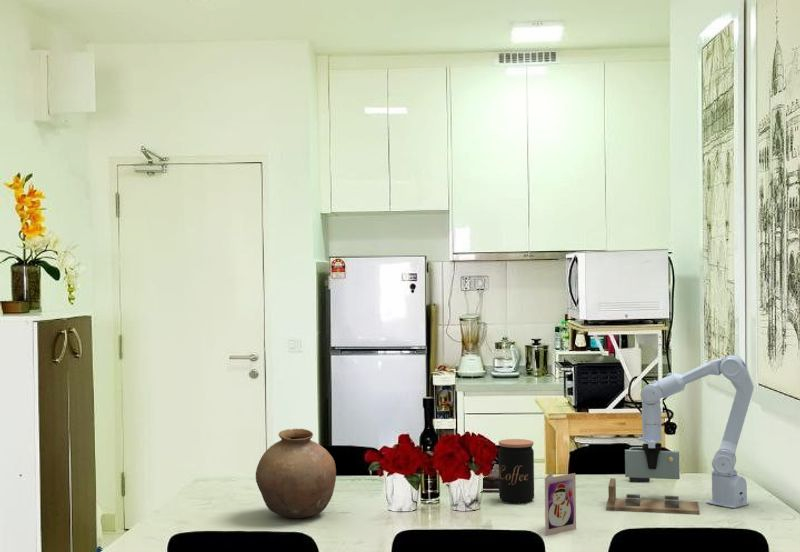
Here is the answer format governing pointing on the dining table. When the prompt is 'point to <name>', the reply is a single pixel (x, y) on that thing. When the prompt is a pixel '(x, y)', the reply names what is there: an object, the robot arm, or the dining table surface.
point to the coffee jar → (516, 471)
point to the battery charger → (633, 479)
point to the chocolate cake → (492, 481)
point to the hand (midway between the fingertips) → (652, 468)
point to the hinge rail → (648, 503)
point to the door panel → (664, 470)
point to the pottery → (296, 475)
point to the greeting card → (560, 503)
